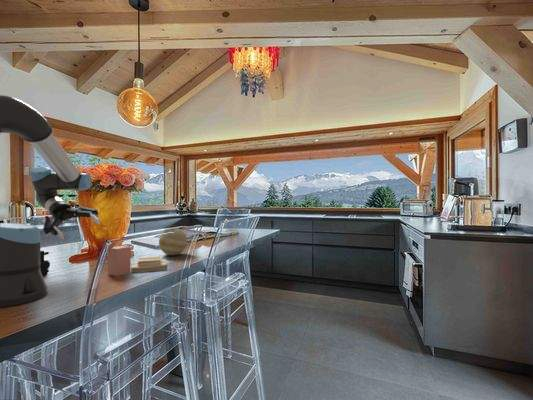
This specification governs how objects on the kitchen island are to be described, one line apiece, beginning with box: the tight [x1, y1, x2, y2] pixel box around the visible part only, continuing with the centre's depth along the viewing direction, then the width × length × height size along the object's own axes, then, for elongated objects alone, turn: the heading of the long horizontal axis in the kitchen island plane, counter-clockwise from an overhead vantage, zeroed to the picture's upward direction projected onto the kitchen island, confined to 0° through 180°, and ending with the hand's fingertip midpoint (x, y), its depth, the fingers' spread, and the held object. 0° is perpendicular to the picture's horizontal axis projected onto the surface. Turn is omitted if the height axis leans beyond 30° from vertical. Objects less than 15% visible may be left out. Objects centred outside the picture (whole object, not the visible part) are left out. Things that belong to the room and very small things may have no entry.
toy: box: [40, 250, 51, 277], centre depth 113 cm, size 8×14×10 cm, turn 12°
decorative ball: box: [158, 227, 188, 256], centre depth 154 cm, size 15×15×15 cm
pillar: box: [107, 245, 132, 277], centre depth 116 cm, size 6×6×11 cm
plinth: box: [130, 255, 167, 274], centre depth 126 cm, size 14×14×4 cm
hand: (81, 228), depth 112 cm, fingers open, 13 cm apart
